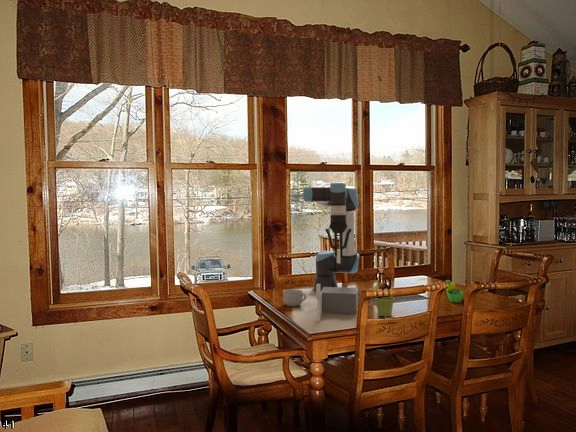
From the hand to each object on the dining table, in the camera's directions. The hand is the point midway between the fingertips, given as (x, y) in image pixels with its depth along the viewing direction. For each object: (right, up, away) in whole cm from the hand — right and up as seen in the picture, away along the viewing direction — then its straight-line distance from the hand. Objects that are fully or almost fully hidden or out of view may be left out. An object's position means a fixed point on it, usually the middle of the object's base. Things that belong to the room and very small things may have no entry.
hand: (338, 262), depth 225 cm
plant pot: (+23, -26, +2) cm, 35 cm away
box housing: (+2, -26, +14) cm, 29 cm away
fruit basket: (+67, -24, +30) cm, 77 cm away
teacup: (-21, -26, +23) cm, 40 cm away
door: (-9, -26, 0) cm, 28 cm away
